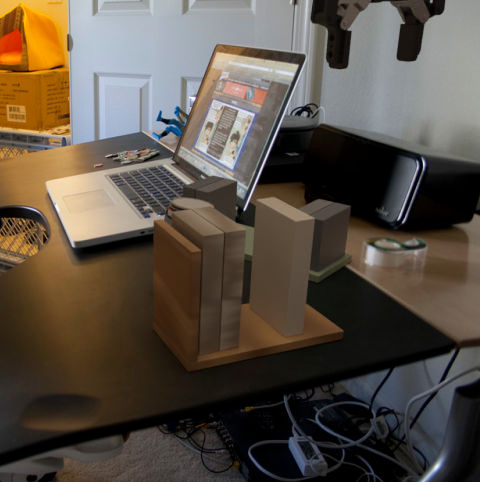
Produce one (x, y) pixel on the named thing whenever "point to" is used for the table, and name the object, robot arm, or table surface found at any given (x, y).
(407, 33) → the robot arm
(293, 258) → the brown tall flat block
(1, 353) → the table surface
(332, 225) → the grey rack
